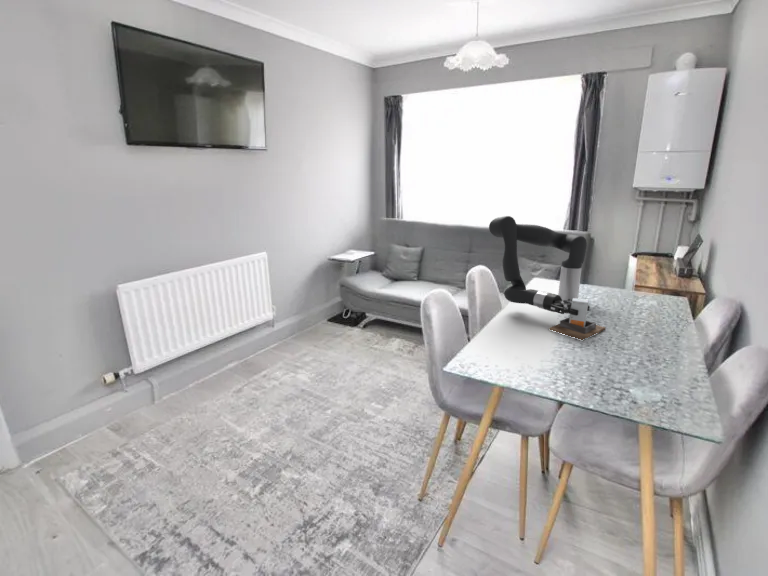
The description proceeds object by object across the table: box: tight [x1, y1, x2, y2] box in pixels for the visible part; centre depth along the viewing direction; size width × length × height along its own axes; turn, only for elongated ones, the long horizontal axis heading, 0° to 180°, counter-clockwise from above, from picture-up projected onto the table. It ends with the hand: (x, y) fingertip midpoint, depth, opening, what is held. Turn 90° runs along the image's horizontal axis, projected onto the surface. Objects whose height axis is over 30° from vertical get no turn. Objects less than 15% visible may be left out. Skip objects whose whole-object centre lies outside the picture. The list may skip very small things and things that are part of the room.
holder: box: [548, 316, 606, 341], centre depth 163 cm, size 18×14×4 cm
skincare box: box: [569, 298, 590, 327], centre depth 161 cm, size 6×4×12 cm
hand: (583, 310), depth 159 cm, fingers open, 8 cm apart
